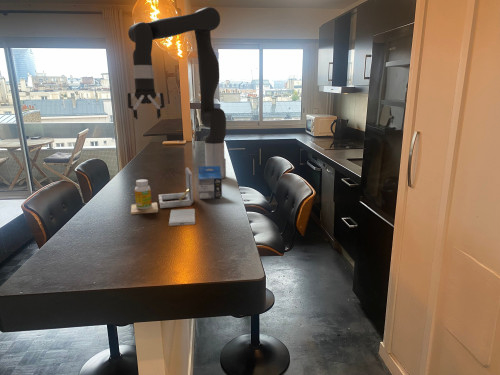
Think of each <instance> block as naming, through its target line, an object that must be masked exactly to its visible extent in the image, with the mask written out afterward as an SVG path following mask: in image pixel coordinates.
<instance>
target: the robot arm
mask: <svg viewBox="0 0 500 375" xmlns="http://www.w3.org/2000/svg"><path fill="white" fill-rule="evenodd" d="M220 22H221V15H220V13H219V11H218V10H217V9H216V8H215V7H212V6H205V7H203V8H200V9H197V10H196V11H195V12H193V13H189V14H183V15H178V16H170V17H163V18H159V19H156V20H153V21H150V22H149V21H148V22H145V21H144V22H143V21H139V22H137V23H135V24H132V25H131V26H129V29H128V31H127V32H128V33H127V35H128V38H129V39H130V41H131V42H132V43H135V45H134V50H133V52H132V60H133V79H134V89H135V92H134V93H131V92H127V106H128V109H131V110H133V111H132V113H133V117H134V119H135V120H138V119H139V118H138V117H139V116H138V106H140V104H142V105H145V104H148V105H149V104H153V106H155V108H156V118H157V119H158V120H159V119H160V118H161V115H162V114H161V110H162V109H163V108H165V107H166V106H165V99H164V98H165V97H164V93H163V92H156V89H155V88H156V87H155V75H154V70H153V59H152V51H153V50H152V48H153V41H154V40H160V39H166V38H172V37H175V36H179V35H181V34H186V33H189V32H192V31H194V35H195V36H194V37H195V42H196V52H197V63H198V64H197V65H198V66H197V68H198V76H199V77H198V78H199V88H200V89H199V92H200V109H199V110H200V121H201V122H200V123H201V124H202V126H204V127H205V128H208V129H209V133H208V135H205V137H204V155H205V157H204V158H205V166H220V171H221V178H222V179H227V167H226V166H227V164H226V161H227V160H226V158H225V138H226V136H227V135H226V134H227V117H226V113H225V111H224V110H223V109H222V108H220V107H219V108H217V107H215V93H216V91H217V88H218V85H219V82H220V65H219V60H218V57H217V55H216V53H215V51H214V48H213V45H212V38H211V32H212V31H214V30H216V29H217V28H219V25H220ZM134 97H135V98H136V99H137V101H136V102H135V104H134V105H132V100H133V98H134ZM156 97H157V98H159V99H160V105H159V104H158V103H157V102H156V101H155V99H156ZM206 171H213V169H210V168H209V169H206Z"/></svg>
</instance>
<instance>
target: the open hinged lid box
mask: <svg viewBox="0 0 500 375" xmlns="http://www.w3.org/2000/svg"><path fill="white" fill-rule="evenodd" d="M184 171H185V186H186V187H185V188H186V189H185V192H178V193H177V192H176V193H163V194H158V201H159V206H160V207H159V208H160V209H166V208H177V207H179V208H180V207H188V206H189V207H190V206H192V204H194V195H193V194H194V189H193V186H194V185H193V173H192V171H191V170H190V169H189V167H185V170H184ZM167 200H168V201H167ZM169 200H170V201H169Z"/></svg>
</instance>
